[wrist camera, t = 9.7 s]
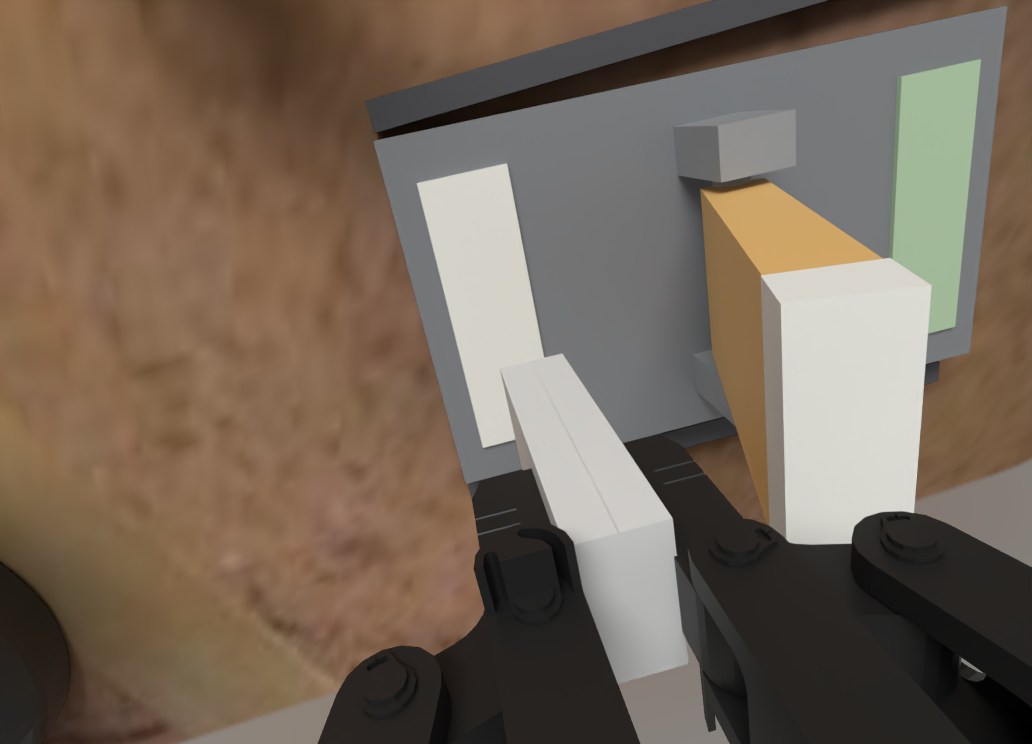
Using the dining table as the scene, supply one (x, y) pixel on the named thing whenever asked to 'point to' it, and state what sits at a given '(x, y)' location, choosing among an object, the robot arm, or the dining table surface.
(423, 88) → the dark grey bar
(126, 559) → the dining table surface
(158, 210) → the dining table surface
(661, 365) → the panel
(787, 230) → the breaker lever
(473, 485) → the dark grey edge strip
